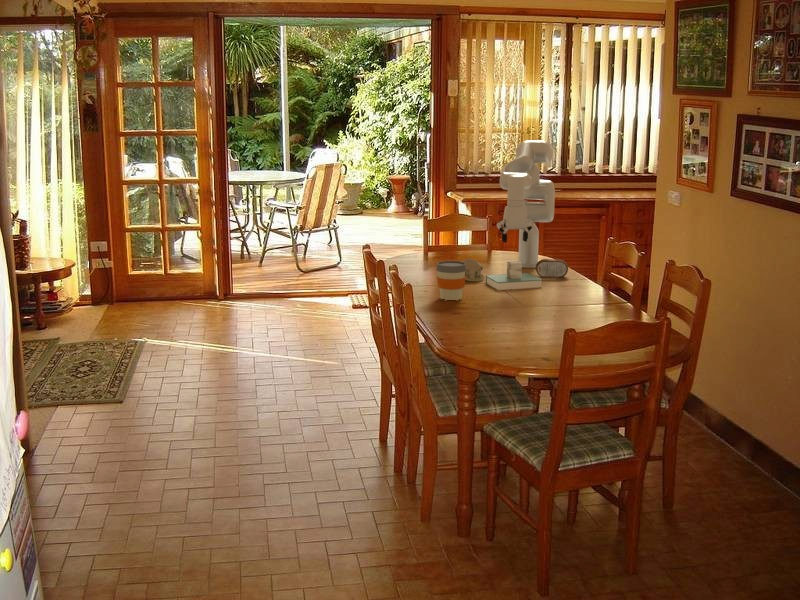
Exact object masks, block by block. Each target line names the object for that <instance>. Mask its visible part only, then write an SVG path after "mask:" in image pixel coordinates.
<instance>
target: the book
mask: <svg viewBox="0 0 800 600" xmlns="http://www.w3.org/2000/svg"><path fill="white" fill-rule="evenodd" d="M542 282H543V279H542V278H540V277H538V276H536V275H534V274H532V273H530V272H522V275H521V278H518V279H510V278H508V277H507V273H505V274H488V275H485V284H486V283H487V284H488V286H489V285H490V287H491V286H492V287H491V288H493V289H494V288H495V289H494V290H496V289H497V290H496V291H510V289H512V290H525V289H540V288H539V287H542ZM487 284H486V285H487Z"/></svg>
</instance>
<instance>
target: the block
mask: <svg viewBox="0 0 800 600" xmlns="http://www.w3.org/2000/svg"><path fill="white" fill-rule="evenodd" d="M522 269H523V267H522V263H521V262H519V260H510V261H506V274H507V277H508V278H510V279H518V278H521V275H522V273H523V272H522V271H523V270H522Z"/></svg>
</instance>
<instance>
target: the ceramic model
mask: <svg viewBox="0 0 800 600" xmlns="http://www.w3.org/2000/svg"><path fill="white" fill-rule="evenodd" d="M461 262H464V263H466V271H465V281H468V282H483V281H484V279H483V278H485V276H484V275H483V274H482V271H483V269H484V268H483V266H482V264H481V263H480V262H479V261H478V260H477V259H473V258H472V257H468V259H466V258H464V259H463V260H461Z"/></svg>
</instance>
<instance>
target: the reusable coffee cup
mask: <svg viewBox="0 0 800 600" xmlns="http://www.w3.org/2000/svg"><path fill="white" fill-rule="evenodd" d="M436 271H437V276H436V280H437V281H436V282H437V287H438V288H439V296H440V297H439V298H440V300H442V299H445V300H444V301H447V300H456V301H460V300H462V298H463V291H464V288H465V284H466V280H465V271H466V263H464V262H462V261H459V260H443V261H438V262H437V264H436ZM459 299H460V300H459Z"/></svg>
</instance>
